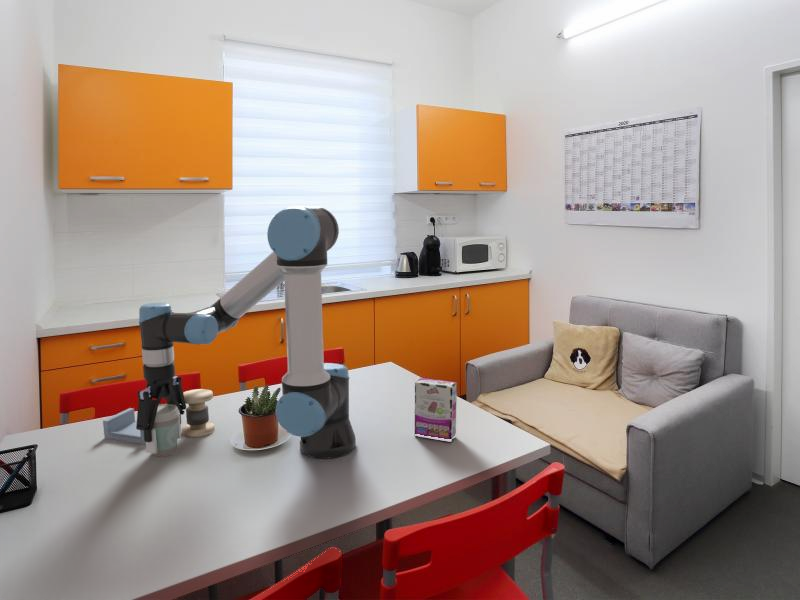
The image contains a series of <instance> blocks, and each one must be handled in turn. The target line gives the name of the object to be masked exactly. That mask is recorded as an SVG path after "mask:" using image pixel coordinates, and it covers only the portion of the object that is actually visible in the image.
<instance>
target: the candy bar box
mask: <svg viewBox="0 0 800 600" xmlns="http://www.w3.org/2000/svg"><path fill="white" fill-rule="evenodd" d="M457 384H458V383H457V382H455V381H447V380H441V379H433V378H432V379H431V378H423V377H420V378H419V379H418V380H417V381H415V383H414V435H415V434H420V435H424V436H431V437H438V438H444V439H452V438H453V437H454V436H455V434H456V435H457V396H458V395H457V393H458V391H457V388H458V385H457Z"/></svg>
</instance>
